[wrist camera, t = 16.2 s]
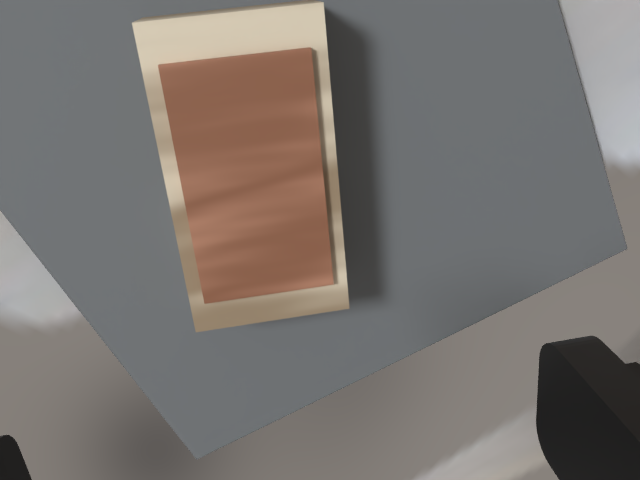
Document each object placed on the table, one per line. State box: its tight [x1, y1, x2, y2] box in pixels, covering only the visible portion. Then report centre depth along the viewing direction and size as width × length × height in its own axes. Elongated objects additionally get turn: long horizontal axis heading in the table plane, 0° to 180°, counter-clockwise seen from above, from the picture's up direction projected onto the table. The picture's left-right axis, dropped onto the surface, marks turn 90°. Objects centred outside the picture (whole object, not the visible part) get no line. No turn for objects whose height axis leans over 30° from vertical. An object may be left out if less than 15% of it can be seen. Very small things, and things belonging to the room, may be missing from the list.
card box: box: [132, 0, 350, 332], centre depth 24 cm, size 3×6×12 cm
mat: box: [0, 0, 627, 459], centre depth 25 cm, size 24×30×1 cm
